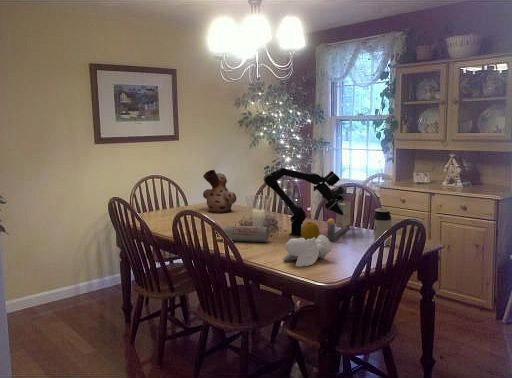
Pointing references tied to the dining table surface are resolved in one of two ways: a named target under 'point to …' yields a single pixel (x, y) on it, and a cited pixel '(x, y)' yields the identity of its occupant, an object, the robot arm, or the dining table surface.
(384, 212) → the travel mug
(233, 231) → the thermos bottle
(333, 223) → the cord guide
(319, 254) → the cherub figurine
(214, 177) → the vessel
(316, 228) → the apple
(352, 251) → the dining table surface
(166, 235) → the dining table surface
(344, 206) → the supplement box
